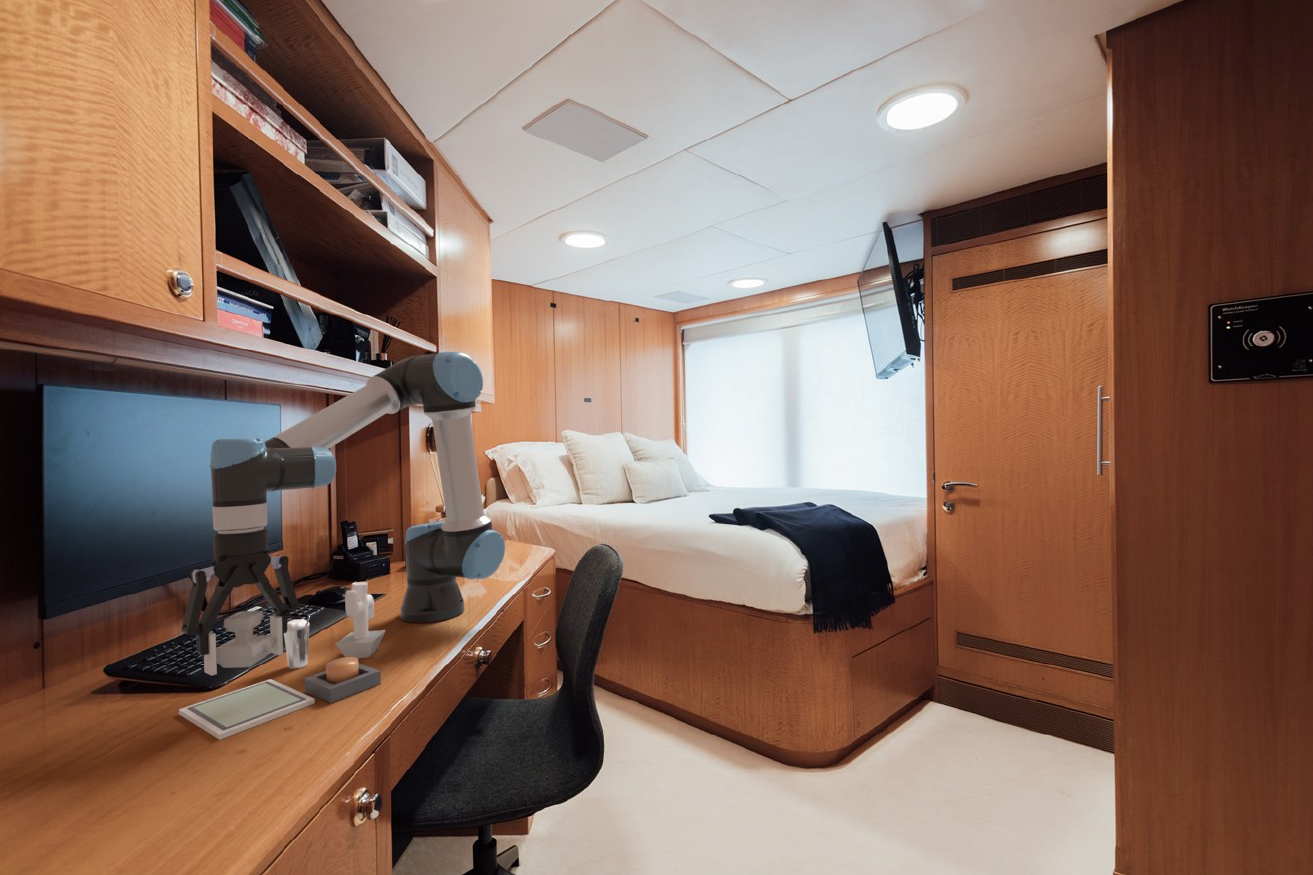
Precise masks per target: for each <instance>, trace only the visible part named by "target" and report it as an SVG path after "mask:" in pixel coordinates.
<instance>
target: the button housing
mask: <svg viewBox="0 0 1313 875" xmlns="http://www.w3.org/2000/svg"><path fill="white" fill-rule="evenodd" d="M358 666H359V676H357V677H354V678H352V679H349V680H346V681H343V682H341V683H338V684H335V685H333V684H331V683H329V682H326V670H324V671H321V672H318V673H315V674H313V675H310V676H307V677H304V678H303V679H304V682H303V683H304V692H305V693H308V694H309V695H311V696H314V697H316V698H319V699H321V700H324V701H326V702H328V703H330V704H333V703H335V702H337V701H340V700H344V699H346V698H348V697H351V696H353V695H356V694H358V693H361V692H363V691H365V690H369V689H371V688H374V687H375V686H379V685H381V684H382V683H381V682H382V681H381V670H379V669H375V668H374V667H370V666H368V665H365V664H362V663H359V662H358Z"/></svg>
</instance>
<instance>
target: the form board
mask: <svg viewBox="0 0 1313 875" xmlns="http://www.w3.org/2000/svg"><path fill="white" fill-rule="evenodd" d="M315 701H316V699H315V698H313V697H311V696H310V695H308V694H305V693H303V692H300V691H298V690H296V689H293V688H292V687H290V686H288V685H285V684H283V683H280V682H278V681H276V680H273V679H271V678H270V679H266V680H263V681H260V682H258V683H255V684H251V685H249V686H248V685H247V686H246V687H242V688H239V689H236V690H233V691H230V692H227V693H224V694H221V695H218V696H214V697H213V698H209V699H207V700H202V701H199V702H198V703H194V704H191V705H188V706H185V707H182V708H179V709H178V715H180V716H181V717H183V719H186V720H187V721H188V722H191V723H192V724H194V725H195V726H197V727H198V728H200V729H201V730H203V731H205V732H206V733H208V735H209V734H210V735H212V736H213V737H214V738H216V739H217V740H219V741H220V740H221V741H222V740H223V739H226V738H228V737H230V736H234V735H236V734H239V733H241V732H244V731H246V730H249V729H251V728H254V727H257V726H259V725H262V724H265V723H267V722H270V721H272V720H275V719H277V718H280V717H283V716H285V715H287V714H288V715H289V714H290V713H291V714H292V713H294V712H296V711H299V710H301V709H304V708H306V707H309V706H312V705H314V704H315V703H316V702H315Z"/></svg>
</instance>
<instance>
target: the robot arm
mask: <svg viewBox="0 0 1313 875" xmlns="http://www.w3.org/2000/svg"><path fill="white" fill-rule="evenodd" d="M483 389H484V378H483V374H482V371H481V369H480V366H479V365H478V363H477V362H476V361H475V360H474V359H472V357H471V356H470V355H468V354H466V353H464V352H460V351H442V352H437V353H436V352H435V353H429V354H422V355H421V354H419V355H413V356H410V357H407V358H405V359H402V360H400V361H398V362H396V363H394V364H393V365H390V366H389V367H387V368H385V369H383V370H382V371H380V372H378V373H376V374H375V375H373V376H371V377H369V378H368V379H367V381H366V384H365V385H364V386H363V387H361V388H359V389H357V390H355V391H353V392H352V393H349V394H348V395H346V396H344V397H342V398H341V399H339V400H337V401H336V402H334V403H332V404H330V405H329V406H327V407H325V408H323V409H321V410H320V411H318V412H316V413H313V414H312V415H311V416H308V417H306V418H305V419H304V420H302V421H300V422H298V423H296V424H295V425H293V426H290V427H289V428H288V429H285V430H284V431H281V432H280V433H278V434H277V435H274V436H273V437H271V438H269V439H268V440H264V438H262V437H246V438H245V437H244V438H243V437H240V438H238V437H237V438H219V439H215V440H214V441H213V442H212V443H211V444H212V445H211V449H210V450H211V451H210V464H209V468H210V474H211V477H210V478H211V492H212V493H211V495H212V527H213V528H212V529H213V530H214V531H217V532H216V533H214V535H213V537H212V538H213V539H212V541H213V559H214V560H213V563H212V565H211V566H209V567H205V568H202V569H197V568H195V569H192V570H191V572H190V578H191V579H190V580H191V588H190V592H189V596H188V599H187V604H186V608H185V613H184V616H183V620H182V626H181V629H180V630H181V632H182V633H185V634H187V635H189V636H192V635H195V638H196V639H195V640H196V653H197V654H198V656H201V657H203V663H204V664H203V665H204V666H203V668H204V673H206V674H207V675H209V676H215V675H218V672H217V669H218V668H217V664H218V663H217V662H216V648H217V634H216V633H215V632H213V631H211V630H212V628H213V626H214V624H215V622H216V620H218V619H217V618H218V616H219V614H220V612H221V611H222V608H223V607H224V605H225V602H226V601H227V598H228V597H229V595H230V594H231V593H232V591H233V589H234V588H239V587H242V586H244V585H255V586H256V587H257V589H258V590H259V592H260V593H261V594H262V596H263V597H264V599H265V601H267V604H268V605H269V606H270V607H271V610H272V611H273V613H274V614H272V615H269V630H270V631H269V632H270V634H269V635H272V636H274V638H275V640H276V643H275V644H274V646H273V647H272V648H273V650H272V652H271V653H270V654H273V655H276V656H281V655H284V645H283V643H284V642H283V640H284V639H283V637H284V636H283V635H284V633H286V632H287V630H288V628H287V622H288V616H289V615H291V611H294V610H296V609H298V608H299V606H300V604H299V601H298V598H297V594H296V591H295V588H294V585H293V582H292V578H291V573H290V572H289V571H290V570H289V561H290V558H289V557H288V556H287V555H282V554H277V555H275V556H271V555H270V554H269V537H268V532H269V531H268V530H267V529H266V528H264V527H266V526H267V525H268V506H267V505H268V504H267V502H268V500H267V494H268V493H267V492H269V493H270V492H276V491H289V490H300V489H301V490H302V489H315V488H318V487H326V486H328V485H329V484H331V483H332V482H333V481H334V479H335V477H336V474H337V461H336V457H335V455H334V453H333V452H332V451H331V448H332V447H334V446H335V445H337V444H338V443H340V442H341V441H344V440H346V439H347V438H348V437H351V436H352V435H353V434H355V433H356V432H358V431H360V430H362V429H363V428H364V427H366V426H368V425H370V424H372V422H374V421H376V420H378V419H379V418H381V417H383V416H384V415H386V414H390V415H392V414H395V413H398V412H399V411H401V410H403V409H405V408H408V407H412V406H418V405H422V408H423V414H424V415H425V416H427V417H428V418H429V419H431V422H432V429H433V435H434V442H435V443H434V444H435V449H436V455H437V464H438V468H439V476H440V482H441V483H440V484H441V489H442V490H441V491H442V496H443V502H444V503H443V504H444V508H445V509H444V511H445V517H446V519H445V520H443V521H435V522H429V523H428V522H427V523H422V524H417V525H413V526H409V527H408V528H407V529H406V531H405V542H404V545H405V564H406V590H405V593H404V597H403V600H402V604H401V606H400V619H401V620H402V621H403V622H407V623H415V624H416V623H419V624H424V623H433V622H439V621H445V620H448V619H452V618H455V617H458V616H459V615H461V614H462V613H464V612H465V600H464V598H463V595H462V592H461V590H460V587H459V585H458V582H457V577H458V578H463V579H467V580H483V579H488V578H490V577H491V576H493V575H494V574H495V573H496V571H498V569H499V568H500V565H501V563H502V562H503V561H504V557H505V553H506V543H505V538H504V537H503V536H502V534H501V533H500V532H498V531H497V530H495V529H493V523H492V518H491V517H490V516H489V515H487V514H486V513H485V511H484V505H483V498H482V490H481V483H480V478H479V475H480V474H479V469H478V462H477V455H476V448H475V440H474V433H473V425H472V418H471V415H472V413H473V412H474V411H475V410H476V408H477V404H476V400H477V399H478V398H479V397H480V396H481V394H482V393H481V391H483ZM270 565H271V568H272V569H273V570H274V573H275V574H274V575H275V576H276V580H277V584H278V587H279V589H280V594H281V596H282V599H281V597H280V596H279V594H278V593H277V592H276V590H275V589H274V588H273V586H272V584H271V583H270V580H269V578H268V577H267V575H266V574H265V573H266V570H267V569H268V568H269V566H270ZM213 575H214V576H216V577H217V579H218V581H217V583H216V585H215V587H214V590H213V591H214V592H213V594H212V595H211V598H210V599H209V601H208V603H207V605H206V608H205V609H204V611H203V613H202V609H203V604H204V600H205V596H206V593H207V588H208V582H210V580H211V576H213ZM201 614H202V615H201Z"/></svg>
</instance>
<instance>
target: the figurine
mask: <svg viewBox="0 0 1313 875" xmlns="http://www.w3.org/2000/svg"><path fill="white" fill-rule="evenodd" d="M368 585H369V584H368V582H367V581H359V582H357V581H354V582H353V583H351V589H350V590H347V591H346V592H345V595H344V601H345V613H346V616H347V617H348V618H351V619H352V620H353V631H351V632H349V633H348V634H347V635H345V636H344V637H342V638H341V639H340V640H339V641H337V642H336V643H335V646H336V647H337V648H338V649H339V651H340V652H341V654H342V655H343V656H344V657H356V658H358V659H369V658H370V657H371V656H372V655H373V654H375V652H377V651H378V649H379V646H380V644H381V642H382V639H383V637H384V635H385V633H386V631H387V630H385V629H383V630H369V620H372V619H373V618H374V617H375V600H374V597H373V595H371V594H370V593H368V589H369V588H368Z"/></svg>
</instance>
